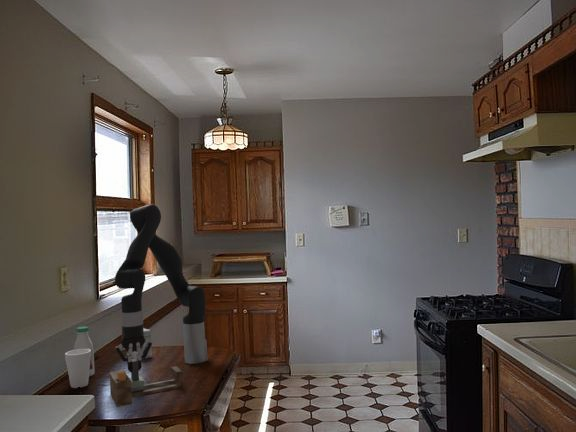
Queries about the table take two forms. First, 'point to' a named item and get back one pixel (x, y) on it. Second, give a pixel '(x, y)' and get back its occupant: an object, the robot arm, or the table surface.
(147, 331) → the supplement box
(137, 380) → the sliding handle
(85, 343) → the milk bottle
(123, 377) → the button
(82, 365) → the foam cup
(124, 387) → the brown mechanism housing
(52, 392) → the table surface
